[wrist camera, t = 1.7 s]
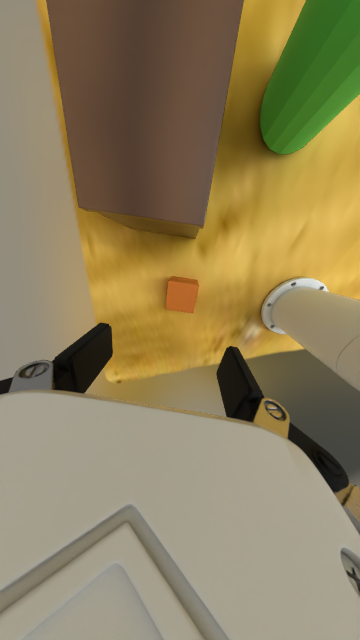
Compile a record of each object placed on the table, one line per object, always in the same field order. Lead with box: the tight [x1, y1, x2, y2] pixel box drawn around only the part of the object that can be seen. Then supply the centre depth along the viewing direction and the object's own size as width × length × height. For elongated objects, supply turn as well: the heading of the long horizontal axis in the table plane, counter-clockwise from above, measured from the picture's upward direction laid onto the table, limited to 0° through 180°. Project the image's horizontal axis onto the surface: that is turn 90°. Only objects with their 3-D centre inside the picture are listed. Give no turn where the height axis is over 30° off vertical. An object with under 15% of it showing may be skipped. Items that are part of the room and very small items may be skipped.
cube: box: [166, 276, 199, 313], centre depth 27 cm, size 5×5×5 cm
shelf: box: [46, 0, 244, 238], centre depth 16 cm, size 13×16×13 cm
